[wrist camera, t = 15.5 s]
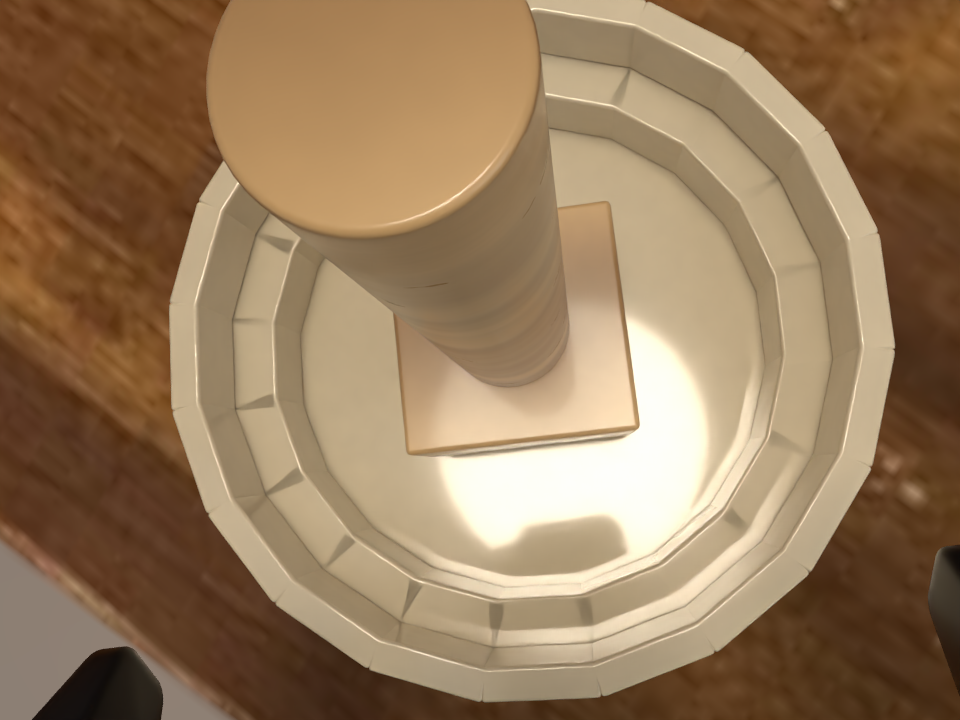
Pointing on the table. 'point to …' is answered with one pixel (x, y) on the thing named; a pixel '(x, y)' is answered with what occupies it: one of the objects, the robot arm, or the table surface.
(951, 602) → the robot arm
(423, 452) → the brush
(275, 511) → the bowl
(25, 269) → the table surface
